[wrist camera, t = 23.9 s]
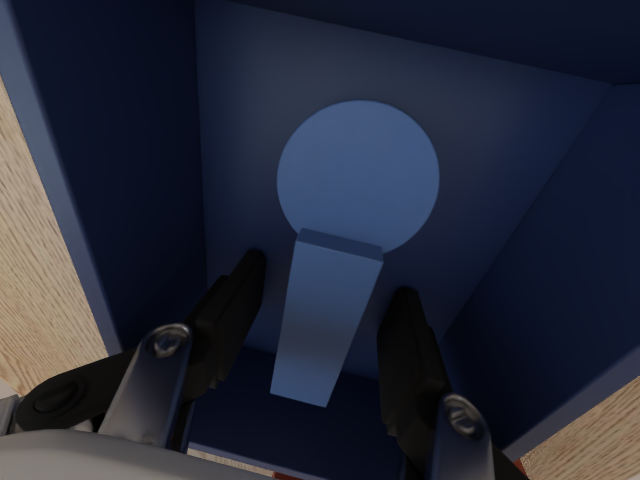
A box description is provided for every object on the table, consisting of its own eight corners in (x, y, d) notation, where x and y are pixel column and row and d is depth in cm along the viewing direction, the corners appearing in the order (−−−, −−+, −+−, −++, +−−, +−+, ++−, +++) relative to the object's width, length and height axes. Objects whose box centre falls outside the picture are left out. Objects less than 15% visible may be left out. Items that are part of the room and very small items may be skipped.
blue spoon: (350, 354, 13) (347, 414, 10) (270, 333, 13) (248, 388, 10) (446, 117, 7) (491, 125, 5) (304, 85, 7) (275, 77, 5)
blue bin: (413, 388, 14) (436, 516, 10) (205, 334, 14) (137, 434, 10) (636, 63, 6) (1215, -19, 2) (182, -34, 7) (-139, -275, 2)
